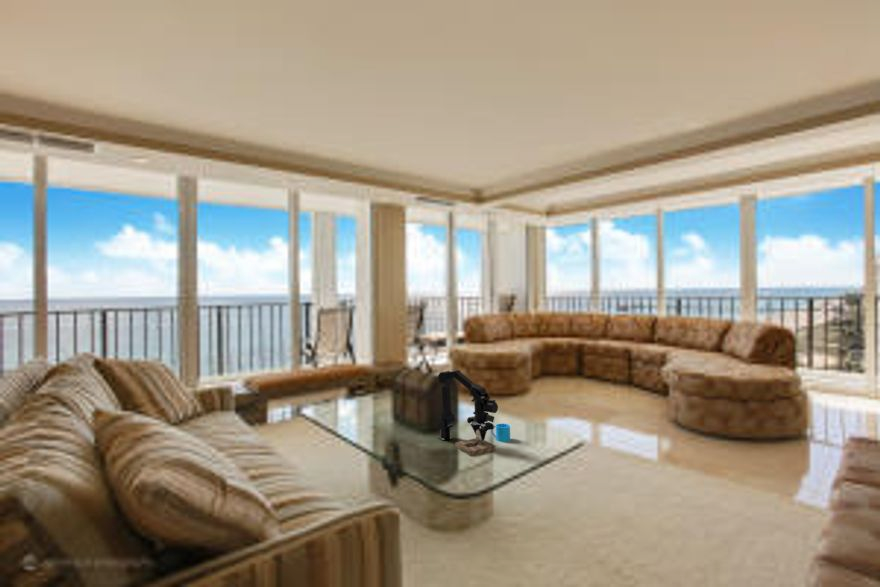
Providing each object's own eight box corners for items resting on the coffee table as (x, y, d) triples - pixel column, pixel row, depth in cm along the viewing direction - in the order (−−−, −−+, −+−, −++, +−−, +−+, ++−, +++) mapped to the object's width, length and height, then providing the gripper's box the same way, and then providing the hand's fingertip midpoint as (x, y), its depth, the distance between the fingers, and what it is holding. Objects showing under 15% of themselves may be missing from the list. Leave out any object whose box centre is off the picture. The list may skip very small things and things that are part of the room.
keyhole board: (470, 456, 217) (470, 451, 217) (455, 447, 232) (455, 442, 232) (495, 450, 225) (495, 445, 225) (479, 442, 239) (479, 437, 239)
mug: (512, 438, 243) (512, 424, 243) (506, 442, 236) (505, 428, 236) (494, 435, 250) (494, 421, 250) (487, 439, 243) (487, 425, 243)
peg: (474, 446, 231) (474, 429, 231) (481, 445, 233) (481, 428, 233) (479, 448, 226) (479, 432, 227) (486, 447, 229) (486, 431, 229)
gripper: (501, 412, 226) (502, 440, 225) (482, 405, 242) (483, 432, 242) (484, 414, 221) (485, 444, 220) (466, 407, 237) (467, 435, 237)
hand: (480, 438), depth 230 cm, fingers closed on peg, 5 cm apart
